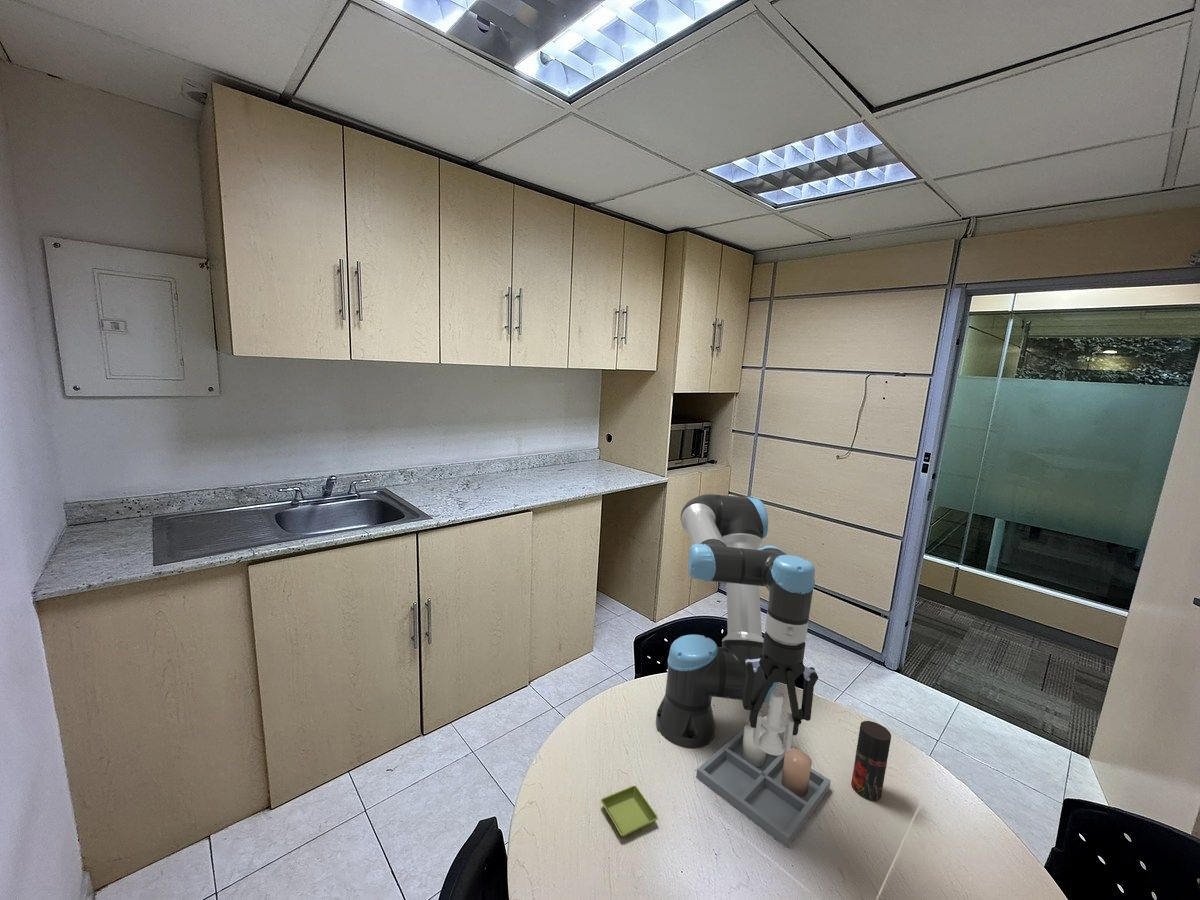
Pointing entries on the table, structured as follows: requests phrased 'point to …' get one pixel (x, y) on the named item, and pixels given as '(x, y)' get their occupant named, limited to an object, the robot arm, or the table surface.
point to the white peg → (773, 726)
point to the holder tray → (761, 790)
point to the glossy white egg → (752, 748)
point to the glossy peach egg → (796, 771)
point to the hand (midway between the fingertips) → (770, 743)
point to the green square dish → (629, 810)
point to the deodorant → (871, 760)
